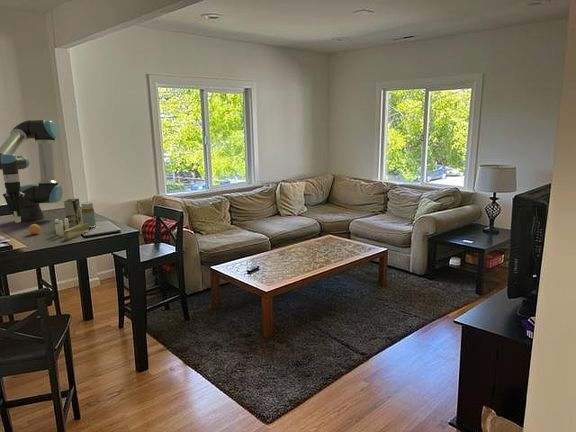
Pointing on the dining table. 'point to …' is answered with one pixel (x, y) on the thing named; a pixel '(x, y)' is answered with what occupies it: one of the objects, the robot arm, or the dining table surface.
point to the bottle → (88, 213)
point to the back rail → (75, 231)
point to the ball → (34, 229)
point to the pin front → (57, 227)
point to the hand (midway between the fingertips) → (18, 222)
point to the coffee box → (73, 212)
